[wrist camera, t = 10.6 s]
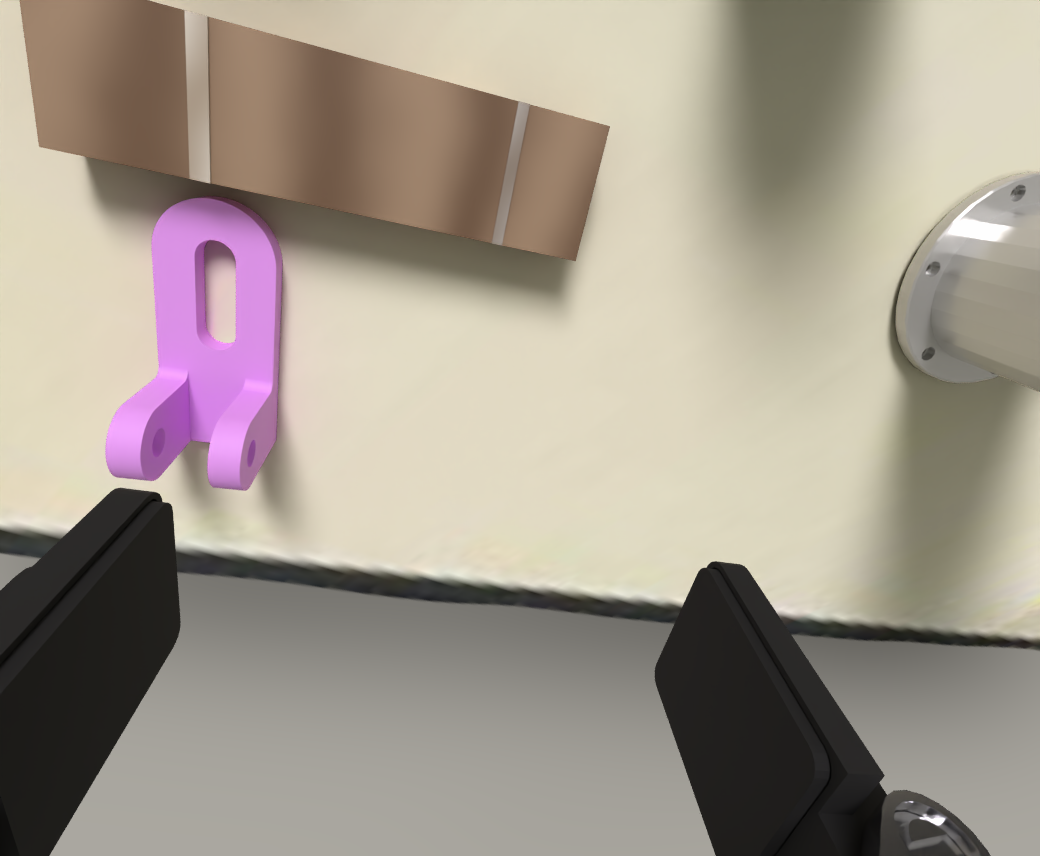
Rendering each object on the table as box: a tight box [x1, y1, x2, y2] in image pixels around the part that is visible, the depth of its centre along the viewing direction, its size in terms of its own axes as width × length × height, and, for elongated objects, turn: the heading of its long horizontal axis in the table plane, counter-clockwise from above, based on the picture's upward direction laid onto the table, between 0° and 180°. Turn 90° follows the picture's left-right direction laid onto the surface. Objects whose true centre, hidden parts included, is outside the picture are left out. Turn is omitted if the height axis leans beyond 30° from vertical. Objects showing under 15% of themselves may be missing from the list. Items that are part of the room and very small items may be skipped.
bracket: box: [106, 196, 282, 491], centre depth 26 cm, size 13×6×7 cm, turn 167°
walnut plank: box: [20, 0, 610, 261], centre depth 25 cm, size 23×6×3 cm, turn 77°
